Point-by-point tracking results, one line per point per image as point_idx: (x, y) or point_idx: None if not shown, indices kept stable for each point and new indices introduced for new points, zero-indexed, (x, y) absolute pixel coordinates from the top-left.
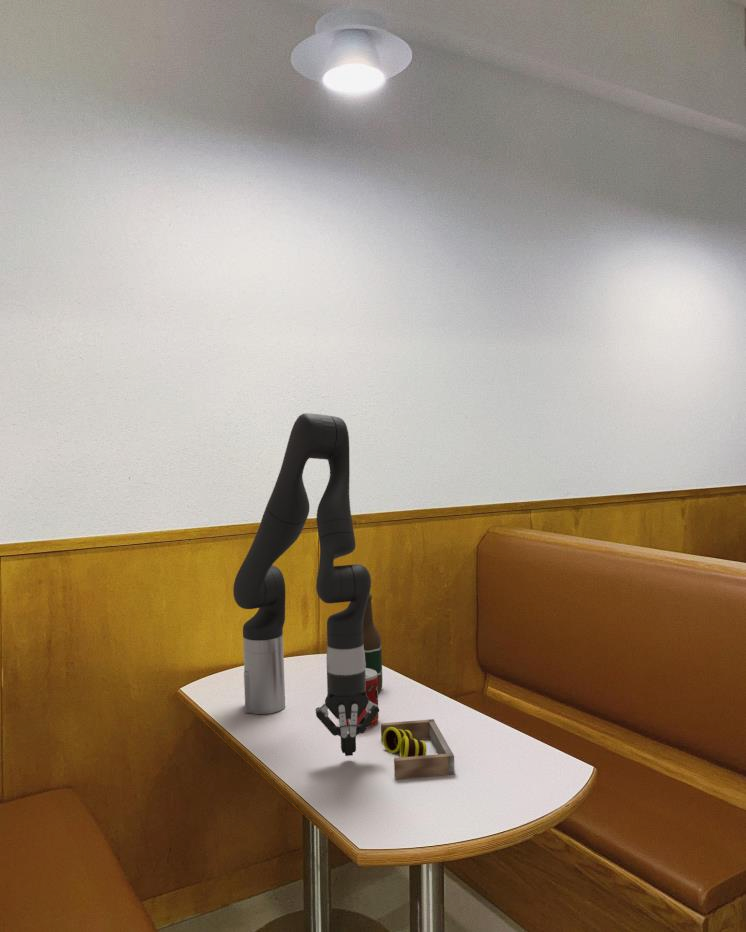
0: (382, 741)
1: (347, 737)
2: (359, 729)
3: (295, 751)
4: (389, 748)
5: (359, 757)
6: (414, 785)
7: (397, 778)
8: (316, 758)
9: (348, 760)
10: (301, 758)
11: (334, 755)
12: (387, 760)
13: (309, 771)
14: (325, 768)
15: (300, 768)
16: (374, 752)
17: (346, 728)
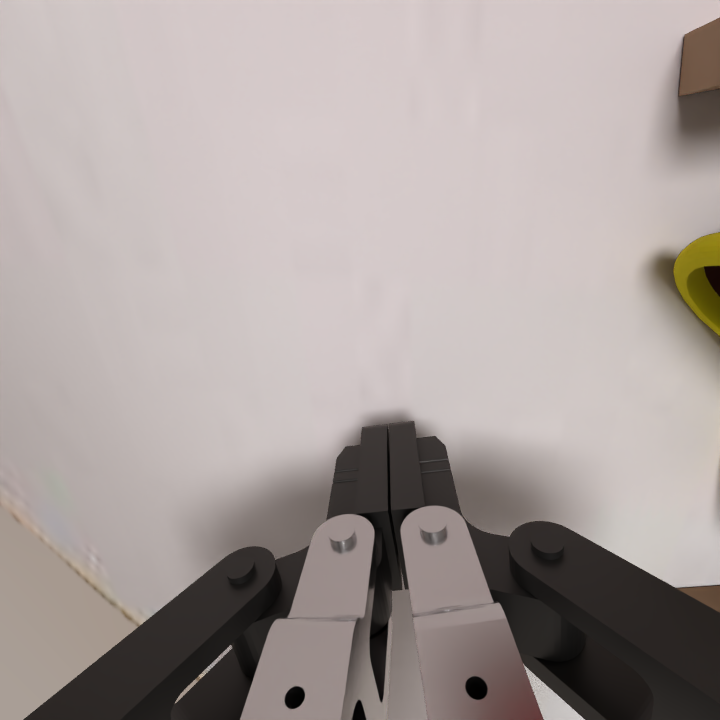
0: (685, 94)
1: (391, 579)
2: (525, 660)
3: (7, 259)
4: (705, 273)
5: (460, 373)
6: None
7: None
8: (184, 372)
9: (389, 410)
10: (90, 367)
11: (292, 336)
12: (638, 423)
13: (187, 516)
14: (265, 493)
15: (129, 484)
16: (573, 302)
17: (387, 693)
